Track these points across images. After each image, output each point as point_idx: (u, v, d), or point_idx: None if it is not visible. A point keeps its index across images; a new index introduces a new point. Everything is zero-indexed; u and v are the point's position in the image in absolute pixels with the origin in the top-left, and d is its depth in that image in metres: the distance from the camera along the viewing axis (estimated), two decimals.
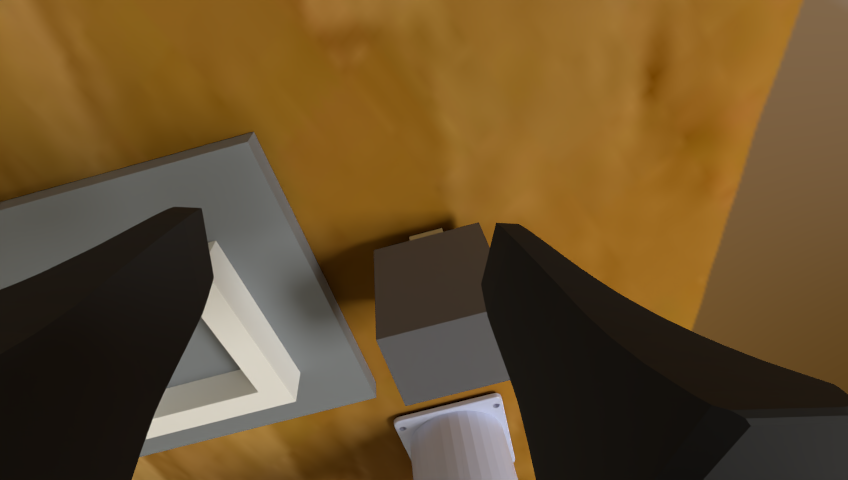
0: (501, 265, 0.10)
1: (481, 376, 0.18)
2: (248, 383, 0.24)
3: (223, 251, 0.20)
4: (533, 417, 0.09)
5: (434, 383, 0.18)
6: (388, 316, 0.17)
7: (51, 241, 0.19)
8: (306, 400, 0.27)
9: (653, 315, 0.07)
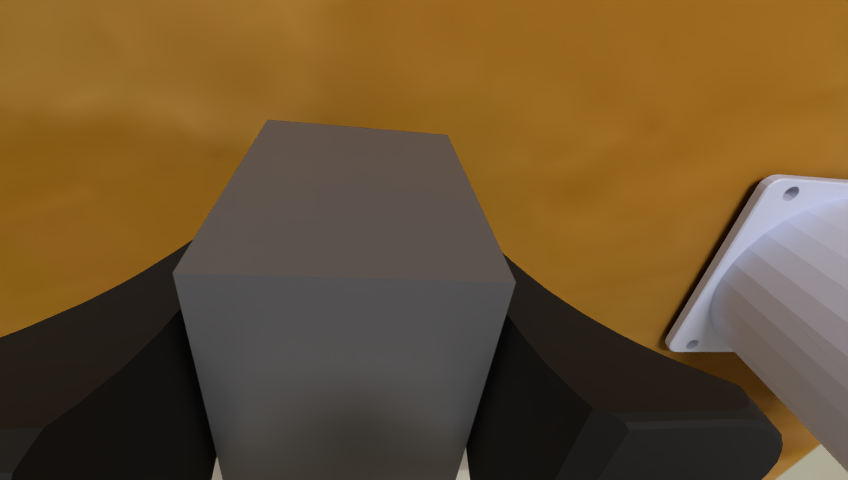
0: None
1: (444, 371, 0.07)
2: None
3: None
4: None
5: (412, 445, 0.08)
6: None
7: None
8: None
9: (581, 314, 0.07)
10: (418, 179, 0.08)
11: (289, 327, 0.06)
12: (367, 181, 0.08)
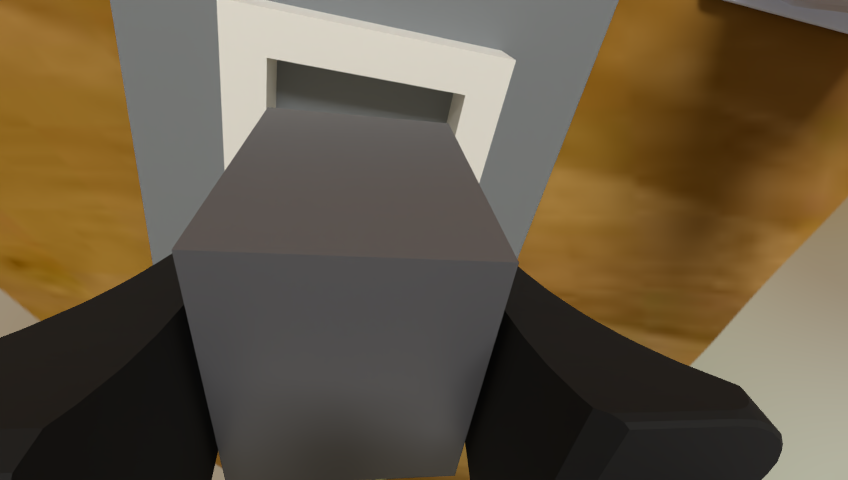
0: None
1: (446, 355, 0.07)
2: (456, 109, 0.17)
3: None
4: None
5: (413, 432, 0.08)
6: None
7: (185, 160, 0.18)
8: (554, 80, 0.18)
9: (581, 314, 0.07)
10: (419, 164, 0.08)
11: (290, 308, 0.06)
12: (367, 165, 0.08)
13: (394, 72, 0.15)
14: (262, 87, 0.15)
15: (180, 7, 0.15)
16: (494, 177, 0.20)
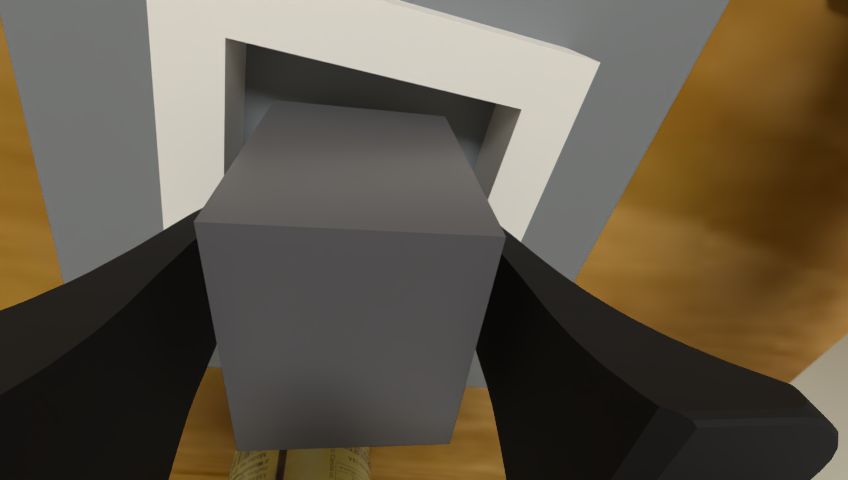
0: None
1: (440, 325, 0.07)
2: (502, 127, 0.12)
3: None
4: (504, 418, 0.09)
5: (411, 400, 0.08)
6: None
7: (112, 180, 0.13)
8: (634, 93, 0.13)
9: (621, 314, 0.07)
10: (417, 152, 0.09)
11: (298, 277, 0.06)
12: (369, 152, 0.09)
13: (421, 71, 0.10)
14: (218, 83, 0.10)
15: None
16: (537, 217, 0.15)
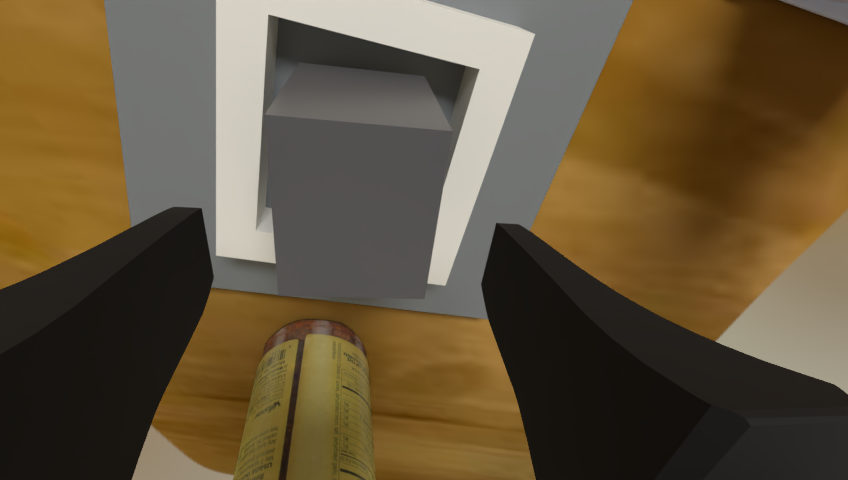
0: (501, 265, 0.10)
1: (414, 196, 0.11)
2: (468, 85, 0.16)
3: None
4: (533, 417, 0.09)
5: (396, 257, 0.12)
6: None
7: (173, 128, 0.17)
8: (571, 62, 0.17)
9: (653, 315, 0.07)
10: (401, 93, 0.13)
11: (324, 156, 0.10)
12: (368, 91, 0.13)
13: (405, 39, 0.14)
14: (261, 47, 0.14)
15: None
16: (501, 163, 0.19)
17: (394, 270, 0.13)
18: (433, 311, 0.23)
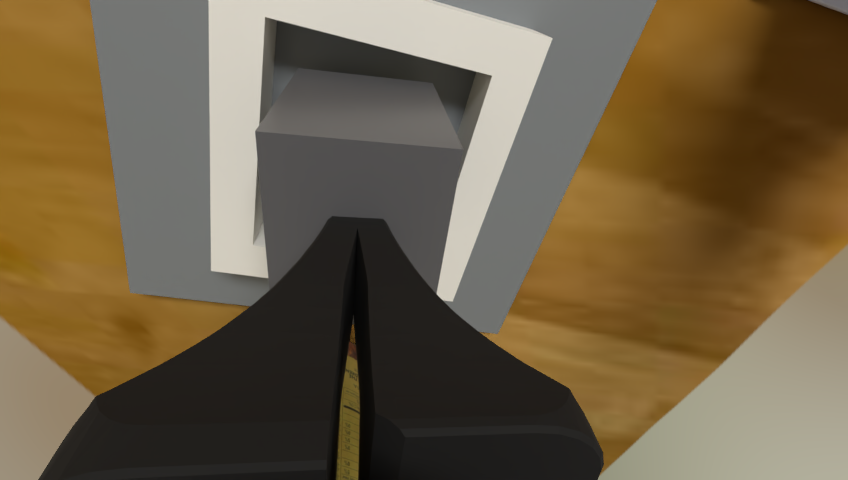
0: (356, 260, 0.10)
1: (420, 219, 0.10)
2: (479, 92, 0.15)
3: None
4: (360, 422, 0.08)
5: None
6: None
7: (165, 136, 0.16)
8: (588, 67, 0.16)
9: None
10: (407, 103, 0.12)
11: (321, 175, 0.09)
12: (371, 102, 0.12)
13: (413, 44, 0.13)
14: (258, 52, 0.13)
15: None
16: (513, 173, 0.18)
17: None
18: None
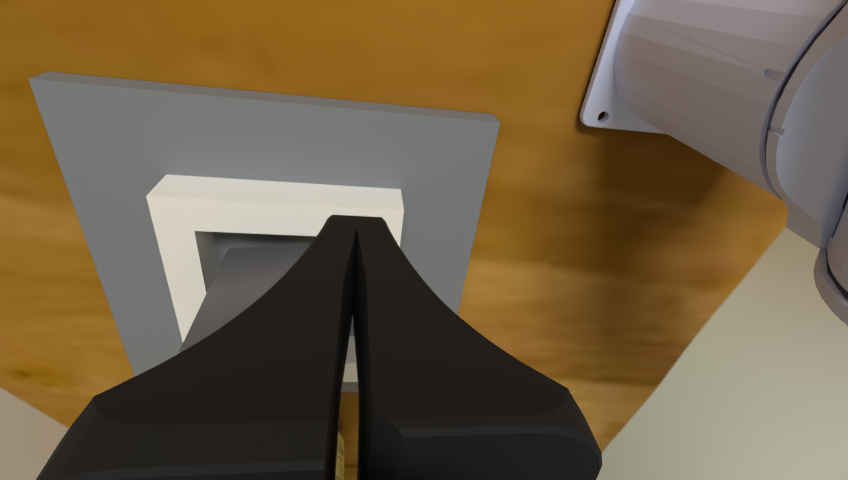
0: (355, 260, 0.10)
1: None
2: None
3: (182, 175, 0.18)
4: (359, 422, 0.08)
5: None
6: None
7: (147, 293, 0.21)
8: (453, 205, 0.20)
9: (454, 313, 0.07)
10: None
11: None
12: (269, 288, 0.17)
13: (302, 229, 0.18)
14: (194, 251, 0.18)
15: (125, 188, 0.18)
16: None
17: None
18: None
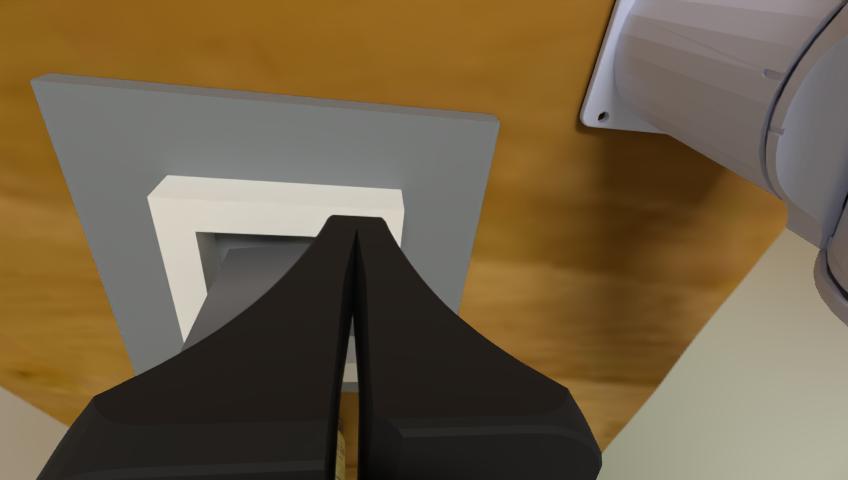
0: (355, 260, 0.10)
1: None
2: None
3: (183, 175, 0.18)
4: (359, 422, 0.08)
5: None
6: None
7: (148, 293, 0.21)
8: (453, 205, 0.20)
9: (453, 312, 0.07)
10: None
11: None
12: None
13: (302, 230, 0.18)
14: (195, 251, 0.18)
15: (126, 189, 0.18)
16: None
17: None
18: None
